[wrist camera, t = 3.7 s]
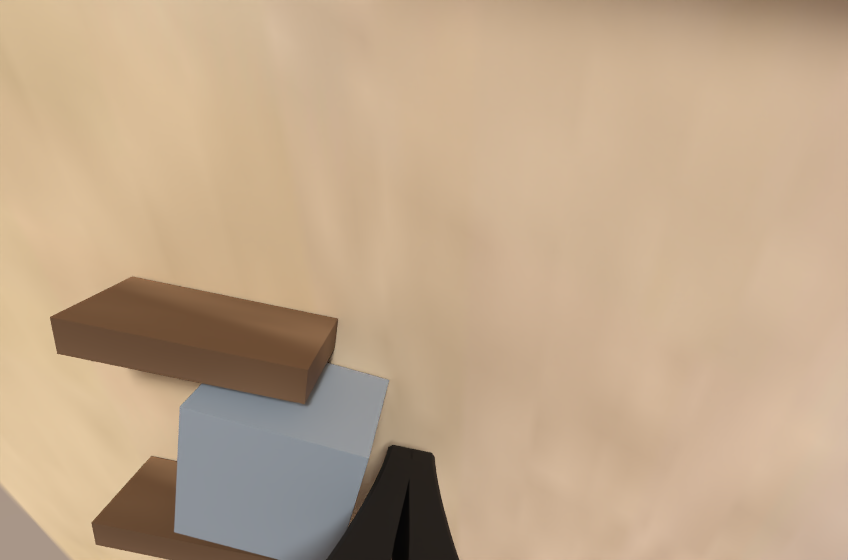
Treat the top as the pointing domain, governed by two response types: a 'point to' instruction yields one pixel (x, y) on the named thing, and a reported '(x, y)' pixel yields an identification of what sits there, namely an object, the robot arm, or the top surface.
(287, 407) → the block
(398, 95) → the top surface
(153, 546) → the channel
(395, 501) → the robot arm
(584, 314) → the top surface
